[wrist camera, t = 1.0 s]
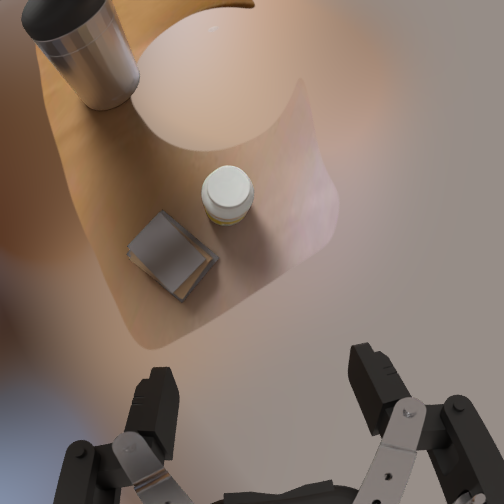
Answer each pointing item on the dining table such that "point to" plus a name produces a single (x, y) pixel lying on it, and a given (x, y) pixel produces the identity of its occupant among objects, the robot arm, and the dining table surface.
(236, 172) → the supplement bottle
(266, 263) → the dining table surface
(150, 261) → the offcut stack
